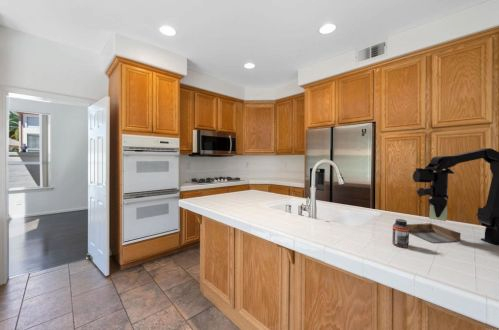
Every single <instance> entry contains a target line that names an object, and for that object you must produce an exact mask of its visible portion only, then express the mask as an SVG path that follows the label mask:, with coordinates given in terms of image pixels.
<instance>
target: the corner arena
mask: <svg viewBox="0 0 499 330" xmlns="http://www.w3.org/2000/svg"><path fill="white" fill-rule="evenodd" d="M406 225H407V226H408V227H409V235H412V236H414V237H417V238H419V239H422V240H424V241H427V242H429V243H431V244H440V243H460V242H461V236H462V235H461V232H458V231H455V230H453V229H449V228H447V227H444V226H440V225H437V224H434V223H432V222H429V223H427V222H426V223H407V224H406Z"/></svg>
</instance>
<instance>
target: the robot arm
mask: <svg viewBox="0 0 499 330" xmlns="http://www.w3.org/2000/svg"><path fill="white" fill-rule="evenodd" d="M480 159H483V161H484V162H486V163H488V164H489V169H490V171H491V174H492V177H491V181H490V186H489V190H488V196H487V199H486V203H485V205H483V207H478V208H477V213H476V216H477V220H478V221H479V223H480V225H481V226H482V227H484V237H482V238H480V240H481V241H484V242H486V243H490V244H493V245H497V246H499V151H497V150H495V149H493V148H491V147H490V148H489V147H488V148H486V147H485V148H484V147H483V148H480V149H475V150H471V151H467V152H463V153H459V154H458V153H457V154H453V155H439V156H438V155H436V156H432V158H431V159H430V162H429V163H428V164H427V165H426V166H425V167H424V168H421V167H420V168H419V167H415V171H414V172H413V174H412V180H413V182H415V183H427V184H428V183H431V185H430V187H429V186H428V187H419V188H418V189H416V194H417V196H418V197H419V198H420V197H423V196H429V198H428V203H429V204H430V205H431V204H432V205H433V206H434V210H435V215H436V217H440V215H441V213H442V212H443V210H444V208H445V207H446V206H447V205H448V202H449V194H448V190H449V189H448V188H449V174H451V175H453V174H455V172H454V171H453V170H451V168H452V167H455V166H456V165H459V164H462V163H468V162H471V161H472V162H473V161H476V160H480Z"/></svg>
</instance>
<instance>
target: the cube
mask: <svg viewBox="0 0 499 330" xmlns="http://www.w3.org/2000/svg"><path fill="white" fill-rule="evenodd" d="M428 213H429V214H428V215H429V216H428V219H430V220H436V221H441V222H447V219H448V206H447V205H446V207H445V208H444V210H443V212H442V213H441V215H440V217H436V215H435V210H434V206H433V205H432V204H430V205H429V212H428Z"/></svg>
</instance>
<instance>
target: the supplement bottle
mask: <svg viewBox="0 0 499 330" xmlns="http://www.w3.org/2000/svg"><path fill="white" fill-rule="evenodd" d="M406 224H408V222H407V220H406V219H401V218H396V219H395V222H394V224H393V225H392V244H393V246H395V247H398V248H408V247H409V244H410V233H409V227H408V226H407V225H406Z"/></svg>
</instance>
